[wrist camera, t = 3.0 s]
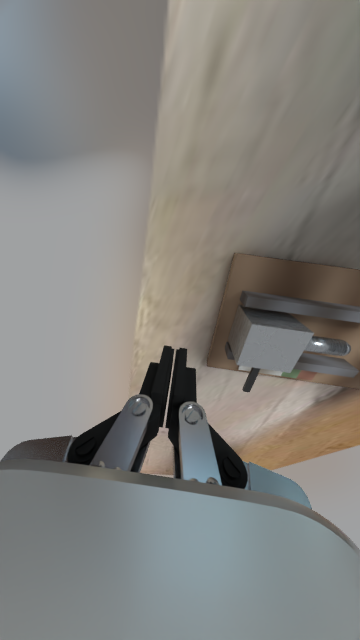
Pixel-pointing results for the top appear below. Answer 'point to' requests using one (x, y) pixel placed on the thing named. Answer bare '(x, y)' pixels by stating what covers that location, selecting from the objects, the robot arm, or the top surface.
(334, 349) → the grey block with rod
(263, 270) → the bench
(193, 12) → the top surface
